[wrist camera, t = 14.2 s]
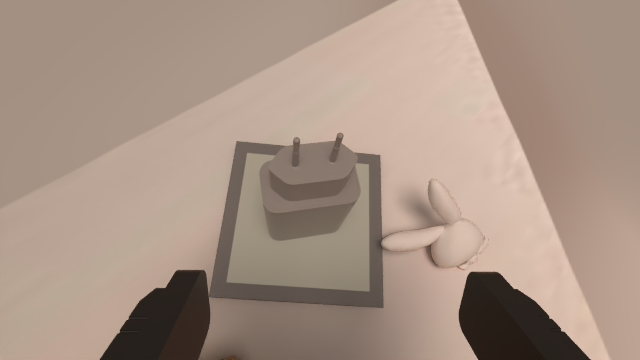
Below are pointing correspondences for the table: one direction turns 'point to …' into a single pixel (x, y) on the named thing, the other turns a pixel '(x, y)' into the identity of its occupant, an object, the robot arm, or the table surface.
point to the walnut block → (230, 358)
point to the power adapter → (309, 189)
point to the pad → (298, 244)
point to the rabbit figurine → (443, 233)
